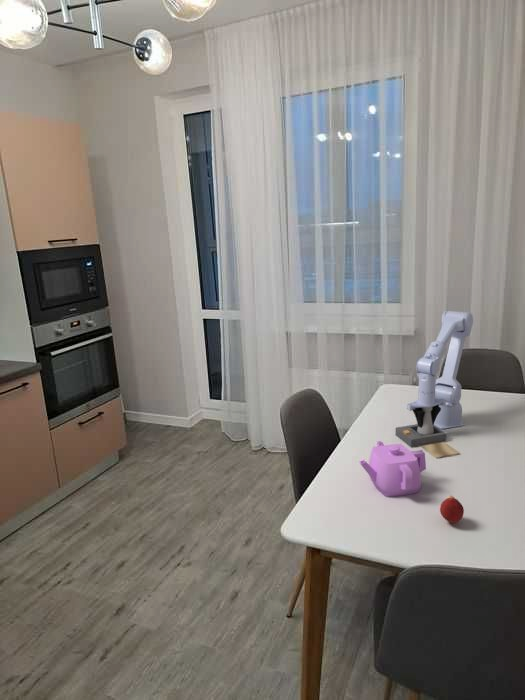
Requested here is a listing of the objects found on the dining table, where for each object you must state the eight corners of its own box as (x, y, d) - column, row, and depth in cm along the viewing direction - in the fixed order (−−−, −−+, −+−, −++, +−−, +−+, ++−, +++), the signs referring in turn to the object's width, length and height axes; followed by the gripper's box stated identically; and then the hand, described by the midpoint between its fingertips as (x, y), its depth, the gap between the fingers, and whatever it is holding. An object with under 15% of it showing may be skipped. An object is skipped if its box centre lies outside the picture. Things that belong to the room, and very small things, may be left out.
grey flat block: (428, 429, 186) (429, 420, 185) (446, 441, 176) (446, 432, 175) (395, 435, 183) (395, 426, 182) (411, 447, 173) (411, 438, 172)
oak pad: (444, 443, 175) (444, 441, 174) (459, 454, 166) (460, 452, 166) (421, 447, 173) (421, 445, 172) (436, 458, 164) (436, 457, 164)
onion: (463, 518, 132) (465, 492, 130) (462, 531, 127) (463, 503, 125) (440, 514, 134) (441, 488, 132) (438, 526, 129) (439, 499, 127)
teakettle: (411, 505, 139) (413, 466, 136) (356, 489, 149) (356, 452, 145) (429, 478, 153) (431, 442, 149) (377, 465, 162) (378, 431, 159)
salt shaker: (414, 434, 182) (415, 401, 179) (429, 432, 183) (430, 400, 179) (420, 440, 177) (421, 407, 173) (436, 439, 177) (437, 406, 174)
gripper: (438, 384, 181) (436, 418, 184) (402, 389, 177) (402, 424, 181) (449, 390, 174) (448, 425, 177) (413, 396, 171) (412, 431, 174)
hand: (425, 425), depth 179 cm, fingers closed on salt shaker, 4 cm apart
